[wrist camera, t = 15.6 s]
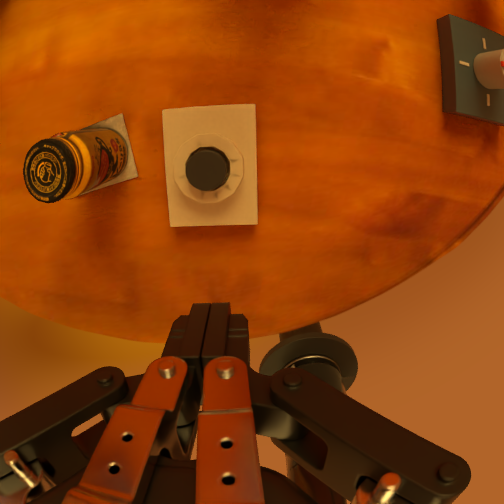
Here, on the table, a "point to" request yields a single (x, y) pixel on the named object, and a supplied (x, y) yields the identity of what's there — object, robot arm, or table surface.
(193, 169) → the button
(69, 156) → the condiment
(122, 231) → the table surface
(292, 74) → the table surface
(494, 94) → the panel
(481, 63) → the knob
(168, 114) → the housing
